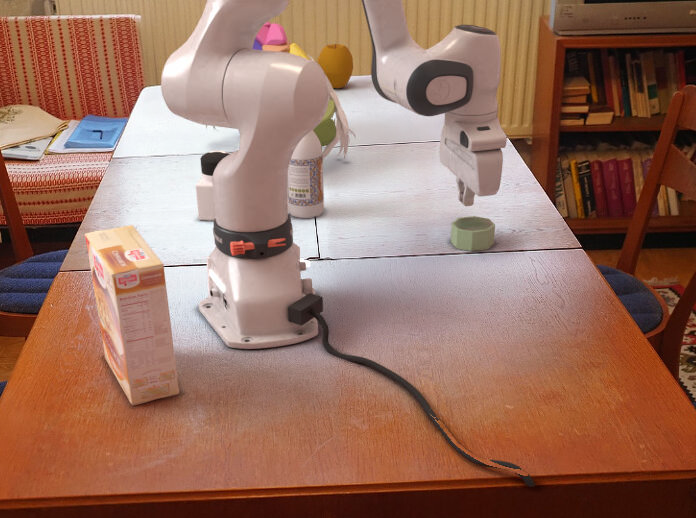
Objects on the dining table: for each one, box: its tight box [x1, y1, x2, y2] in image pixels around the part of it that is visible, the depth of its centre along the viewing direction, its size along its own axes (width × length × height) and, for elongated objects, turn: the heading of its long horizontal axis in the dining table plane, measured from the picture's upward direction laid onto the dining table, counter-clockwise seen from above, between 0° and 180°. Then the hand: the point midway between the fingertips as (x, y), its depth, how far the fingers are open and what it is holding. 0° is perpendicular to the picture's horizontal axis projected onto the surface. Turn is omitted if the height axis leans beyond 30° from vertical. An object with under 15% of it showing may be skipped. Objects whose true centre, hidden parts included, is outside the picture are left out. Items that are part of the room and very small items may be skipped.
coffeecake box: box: [84, 224, 180, 406], centre depth 132 cm, size 15×7×20 cm, turn 23°
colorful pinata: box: [205, 21, 356, 160], centre depth 214 cm, size 32×29×35 cm
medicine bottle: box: [195, 150, 231, 222], centre depth 185 cm, size 7×7×12 cm
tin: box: [450, 215, 496, 252], centre depth 171 cm, size 4×7×7 cm
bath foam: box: [287, 130, 325, 219], centre depth 182 cm, size 7×7×20 cm
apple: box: [316, 42, 354, 89], centre depth 262 cm, size 10×10×12 cm
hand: (465, 203), depth 172 cm, fingers closed
